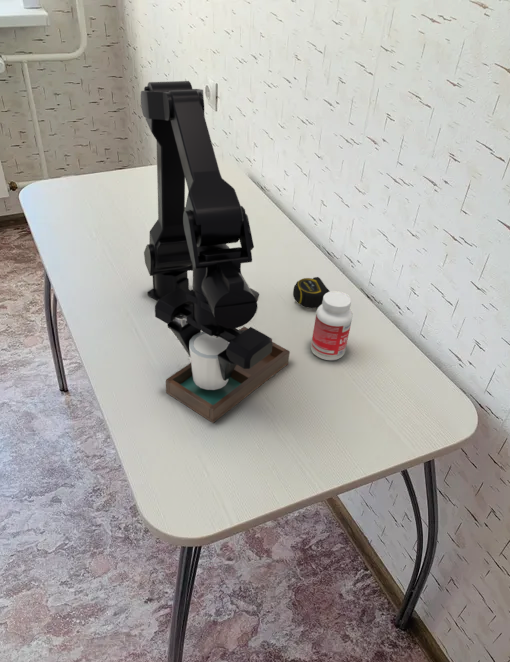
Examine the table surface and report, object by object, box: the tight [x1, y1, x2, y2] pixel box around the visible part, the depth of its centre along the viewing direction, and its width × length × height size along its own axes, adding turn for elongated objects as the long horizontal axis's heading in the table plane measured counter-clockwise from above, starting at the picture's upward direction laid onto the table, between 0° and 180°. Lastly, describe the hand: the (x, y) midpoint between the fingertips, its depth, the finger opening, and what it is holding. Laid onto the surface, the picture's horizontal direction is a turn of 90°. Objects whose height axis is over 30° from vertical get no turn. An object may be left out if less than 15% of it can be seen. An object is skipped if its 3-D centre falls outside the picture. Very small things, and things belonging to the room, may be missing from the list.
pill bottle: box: [310, 290, 353, 361], centre depth 106 cm, size 6×6×11 cm
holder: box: [165, 326, 291, 424], centre depth 102 cm, size 10×19×3 cm, turn 141°
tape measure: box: [292, 276, 331, 309], centre depth 120 cm, size 7×7×4 cm
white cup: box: [189, 331, 229, 390], centre depth 96 cm, size 7×7×7 cm
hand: (210, 369), depth 97 cm, fingers closed on white cup, 6 cm apart
